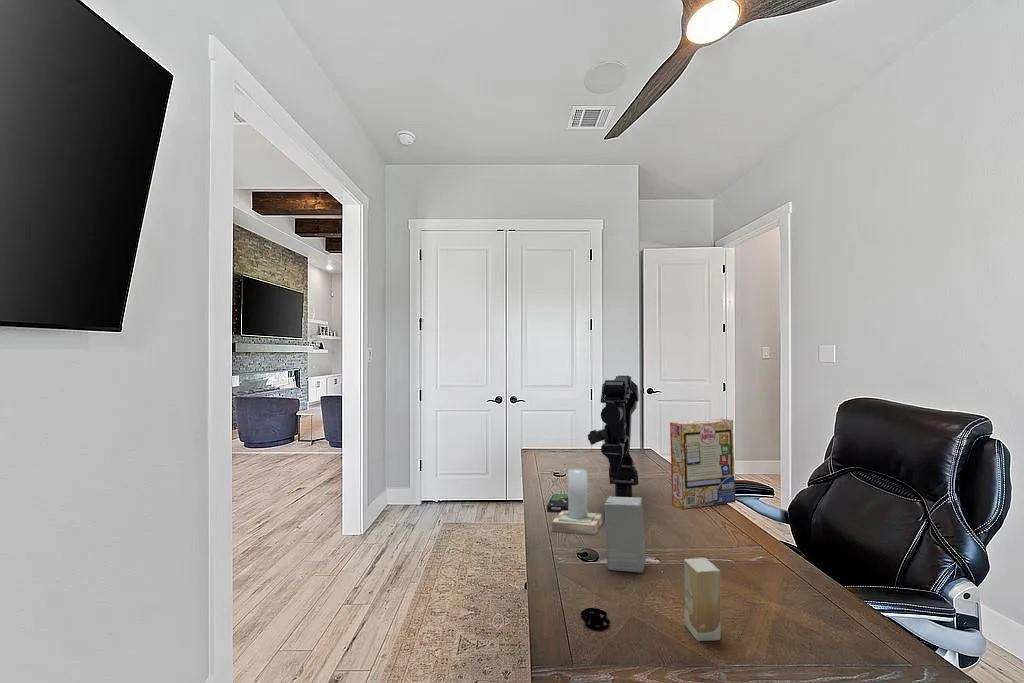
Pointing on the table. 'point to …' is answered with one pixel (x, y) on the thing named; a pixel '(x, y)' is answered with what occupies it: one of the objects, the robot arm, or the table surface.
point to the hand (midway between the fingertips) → (616, 472)
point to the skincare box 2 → (702, 599)
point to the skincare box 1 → (625, 534)
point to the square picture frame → (577, 523)
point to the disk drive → (558, 503)
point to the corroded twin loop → (595, 618)
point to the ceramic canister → (577, 493)
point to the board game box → (702, 463)
